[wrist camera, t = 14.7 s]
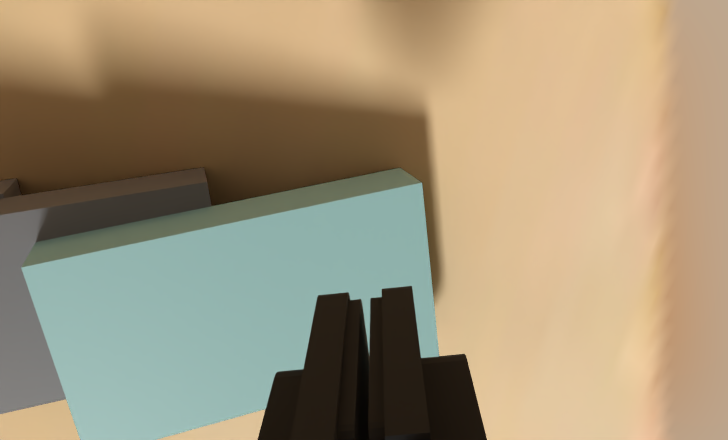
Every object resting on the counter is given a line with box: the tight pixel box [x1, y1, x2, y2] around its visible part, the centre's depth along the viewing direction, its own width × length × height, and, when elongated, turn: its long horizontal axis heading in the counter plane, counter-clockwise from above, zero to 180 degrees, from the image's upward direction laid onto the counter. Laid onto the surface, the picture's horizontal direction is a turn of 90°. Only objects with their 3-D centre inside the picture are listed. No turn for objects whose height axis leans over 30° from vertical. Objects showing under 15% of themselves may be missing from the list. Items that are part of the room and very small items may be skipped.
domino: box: [0, 167, 211, 414], centre depth 16 cm, size 5×2×9 cm
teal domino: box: [21, 168, 439, 440], centre depth 16 cm, size 5×2×9 cm
